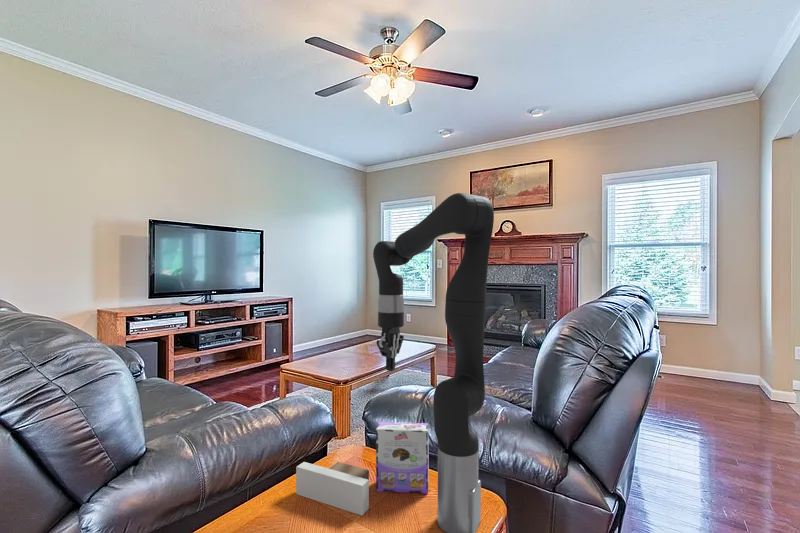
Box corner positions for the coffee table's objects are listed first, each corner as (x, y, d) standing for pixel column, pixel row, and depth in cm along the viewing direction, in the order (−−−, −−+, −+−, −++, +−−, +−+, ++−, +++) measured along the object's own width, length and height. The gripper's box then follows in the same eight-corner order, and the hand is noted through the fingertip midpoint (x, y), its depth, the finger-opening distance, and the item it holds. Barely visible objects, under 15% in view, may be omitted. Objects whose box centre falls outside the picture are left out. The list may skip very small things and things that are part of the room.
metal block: (368, 488, 106) (369, 469, 106) (352, 504, 99) (352, 484, 99) (337, 479, 110) (337, 461, 110) (319, 494, 103) (319, 475, 103)
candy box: (428, 482, 109) (429, 422, 109) (428, 495, 103) (428, 430, 103) (378, 479, 110) (379, 420, 110) (375, 491, 104) (375, 428, 104)
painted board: (368, 508, 97) (368, 479, 97) (362, 515, 94) (362, 485, 94) (303, 488, 105) (304, 461, 106) (296, 493, 103) (296, 466, 103)
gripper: (391, 313, 108) (391, 377, 108) (412, 309, 120) (411, 366, 119) (367, 311, 111) (367, 373, 111) (390, 307, 123) (389, 364, 123)
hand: (390, 370), depth 115 cm, fingers closed
